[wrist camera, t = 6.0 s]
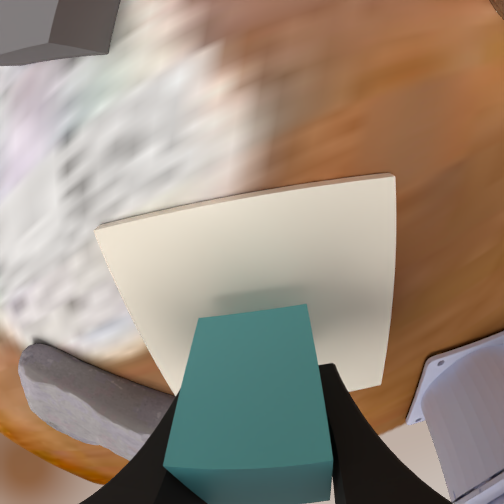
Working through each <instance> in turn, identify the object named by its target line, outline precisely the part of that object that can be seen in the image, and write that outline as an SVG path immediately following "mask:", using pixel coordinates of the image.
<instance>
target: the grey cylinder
mask: <svg viewBox="0 0 504 504" xmlns="http://www.w3.org/2000/svg"><path fill="white" fill-rule="evenodd" d="M489 1H490V2H491V4H492V6H493V7H494V9H495V10H496V11H497V13H498V14H499V15H500V16H501V17H502V19H503V20H504V0H489Z"/></svg>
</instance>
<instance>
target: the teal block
mask: <svg viewBox="0 0 504 504" xmlns="http://www.w3.org/2000/svg"><path fill="white" fill-rule="evenodd" d="M163 466H164V467H165V468H166V469H167V470H168V471H169V472H170V473H171V474H172V475H174V476H175V477H176V478H177V479H178V480H179V481H180V482H182V483H183V484H184V485H185V486H186V487H188V488H189V489H190V490H191V491H192V492H194V493H195V494H196V495H197V496H199V497H200V498H201V499H202V500H204V501H205V502H206V503H208V504H305V503H314V502H321V501H328V500H330V493H331V492H330V491H331V482H332V470H333V455H332V448H331V441H330V434H329V427H328V421H327V414H326V408H325V402H324V396H323V390H322V384H321V378H320V372H319V366H318V361H317V355H316V350H315V344H314V339H313V334H312V328H311V323H310V318H309V313H308V308H307V304H301V305H295V306H288V307H282V308H275V309H268V310H260V311H253V312H245V313H237V314H229V315H221V316H212V317H203V318H198V322H197V326H196V329H195V333H194V337H193V341H192V345H191V349H190V353H189V357H188V361H187V365H186V369H185V373H184V377H183V381H182V385H181V389H180V393H179V397H178V401H177V406H176V410H175V414H174V418H173V423H172V427H171V431H170V436H169V440H168V445H167V449H166V454H165V459H164V463H163Z"/></svg>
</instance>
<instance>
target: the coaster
mask: <svg viewBox="0 0 504 504" xmlns="http://www.w3.org/2000/svg"><path fill="white" fill-rule="evenodd" d="M94 234H95V236H96V239H97V241H98V244H99V246H100V249H101V251H102V254H103V256H104V259H105V261H106V263H107V266H108V268H109V270H110V273H111V275H112V277H113V280H114V282H115V284H116V286H117V288H118V291H119V293H120V295H121V297H122V299H123V301H124V303H125V305H126V308H127V310H128V312H129V314H130V316H131V318H132V320H133V322H134V324H135V326H136V328H137V329H138V331H139V333H140V335H141V337H142V339H143V341H144V343H145V345H146V346H147V348H148V350H149V352H150V354H151V356H152V357H153V359H154V361H155V363H156V364H157V366H158V368H159V370H160V371H161V373H162V375H163V376H164V378H165V380H166V381H167V383H168V385H169V386H170V388H171V390H172V391H173V393H174V395H175V396H176V395H177V393H178V392H179V390H180V388H181V385H182V381H183V377H184V373H185V369H186V365H187V361H188V357H189V353H190V349H191V345H192V341H193V337H194V333H195V329H196V326H197V322H198V318H203V317H212V316H221V315H229V314H237V313H245V312H253V311H260V310H268V309H275V308H282V307H288V306H295V305H301V304H307V308H308V313H309V318H310V323H311V328H312V334H313V339H314V344H315V350H316V355H317V361H318V365H323V364H328V363H333V364H335V365H336V368H337V371H338V373H339V375H340V377H341V379H342V381H343V383H344V385H345V387H346V389H347V390H348V392H350V391H355V390H360V389H365V388H369V387H373V386H378V385H381V382H382V376H383V370H384V364H385V358H386V352H387V345H388V337H389V330H390V321H391V312H392V302H393V290H394V275H395V256H396V183H395V176H394V175H392V174H390V173H382V174H373V175H364V176H356V177H348V178H341V179H333V180H326V181H319V182H312V183H305V184H299V185H292V186H286V187H280V188H274V189H268V190H262V191H256V192H251V193H245V194H240V195H234V196H229V197H223V198H218V199H213V200H208V201H203V202H198V203H193V204H188V205H184V206H179V207H174V208H170V209H165V210H161V211H156V212H152V213H147V214H143V215H139V216H134V217H130V218H126V219H122V220H118V221H114V222H110V223H106V224H102V225H99V226H98V227H97V228H96V229H95V230H94Z"/></svg>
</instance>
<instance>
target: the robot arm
mask: <svg viewBox="0 0 504 504" xmlns="http://www.w3.org/2000/svg"><path fill="white" fill-rule="evenodd" d="M318 366H319V372H320V378H321V384H322V390H323V396H324V402H325V408H326V414H327V421H328V427H329V434H330V441H331V448H332V455H333V470H332V477H333V485H334V495H335V504H453V503H454V504H504V331H502V332H500V333H497V334H495V335H492V336H490V337H487V338H484V339H482V340H479V341H476V342H474V343H471V344H468V345H465V346H462V347H460V348H457V349H454V350H451V351H448V352H444V353H441V354H438V355H435V356H432V357H430V358H429V359H428V360H427V361H426V363H425V366H424V369H423V373H422V376H421V379H420V382H419V385H418V388H417V391H416V394H415V397H414V400H413V402H412V405H411V408H410V410H409V413H408V416H407V418H406V424H407V425H412V424H415V423H418V422H421V421H424V420H426V423H427V425H428V428H429V431H430V434H431V437H432V440H433V443H434V446H435V449H436V452H437V455H438V458H439V461H440V464H441V468H442V471H443V474H444V478H445V481H446V484H447V488H448V492H449V495H450V499H451V502H450V501H449V500H447V499H446V498H444V497H443V496H441V495H440V494H439V493H437V492H436V491H434V490H433V489H432V488H431V487H429V486H428V485H427V484H426V483H424V482H423V481H422V480H421V479H420V478H418V477H417V476H416V475H415V474H414V473H413V472H412V471H411V470H410V469H409V468H408V467H407V466H405V465H404V464H403V463H402V462H401V461H400V460H399V459H398V458H397V456H396V455H395V454H394V453H393V452H392V451H391V450H390V449H389V448H388V447H387V446H386V444H385V443H384V442H383V441H382V440H381V439H380V437H379V436H378V435H377V433H376V432H375V431H374V430H373V428H372V427H371V426H370V424H369V423H368V422H367V420H366V419H365V417H364V416H363V414H362V413H361V411H360V410H359V408H358V407H357V405H356V404H355V402H354V401H353V399H352V397H351V396H350V394H349V392H348V390H347V389H346V387H345V385H344V383H343V381H342V379H341V377H340V375H339V373H338V371H337V368H336V365H335V364H333V363H328V364H323V365H318ZM180 389H181V388H180ZM179 393H180V390H179V392H178V393H177V395H176V397H175V398H174V400H173V402H172V403H171V405H170V407H169V408H168V410H167V412H166V413H165V415H164V416H163V418H162V419H161V421H160V422H159V424H158V425H157V427H156V428H155V430H154V431H153V433H152V434H151V435H150V437H149V438H148V439H147V441H146V442H145V444H144V445H143V446H142V447H141V449H140V450H139V451H138V452H137V454H136V455H135V456H134V457H133V458H132V459H131V460H130V462H129V463H128V464H127V465H126V466H125V467H124V468H123V469H122V470H121V471H120V472H119V473H118V474H117V475H116V476H115V477H114V478H112V479H111V480H110V481H109V482H108V483H107V484H105V485H104V486H103V487H102V488H101V489H99V490H98V491H97V492H95V493H94V494H93V495H91V496H90V497H89V498H87V499H86V500H84V501H82V502H81V503H79V504H208V503H206V502H205V501H204V500H202V499H201V498H200V497H199V496H197V495H196V494H195V493H194V492H192V491H191V490H190V489H189V488H188V487H186V486H185V485H184V484H183V483H182V482H180V481H179V480H178V479H177V478H176V477H175V476H174V475H172V474H171V473H170V472H169V471H168V470H167V469H166V468H165V467H164V466H163V463H164V459H165V454H166V449H167V445H168V440H169V436H170V431H171V427H172V423H173V418H174V414H175V410H176V406H177V401H178V397H179Z"/></svg>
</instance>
